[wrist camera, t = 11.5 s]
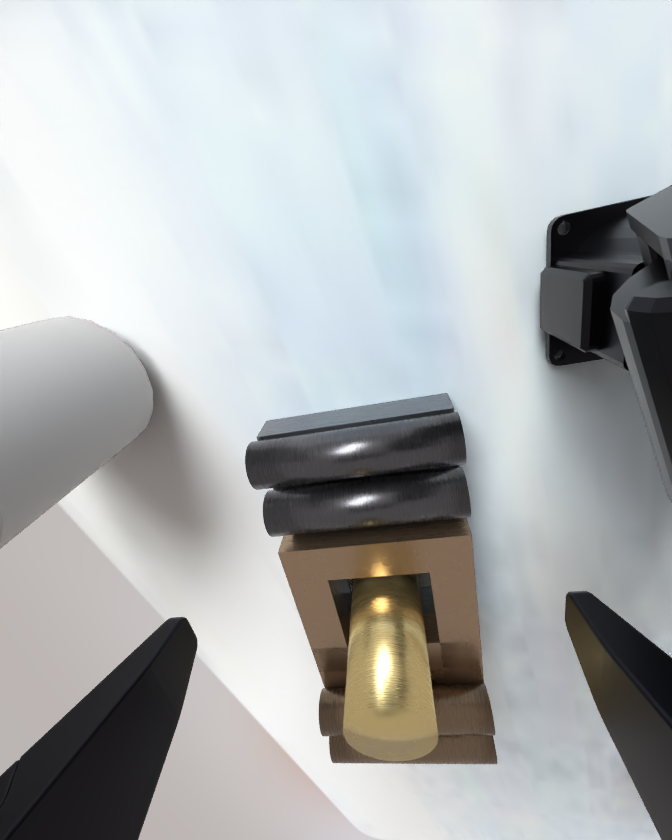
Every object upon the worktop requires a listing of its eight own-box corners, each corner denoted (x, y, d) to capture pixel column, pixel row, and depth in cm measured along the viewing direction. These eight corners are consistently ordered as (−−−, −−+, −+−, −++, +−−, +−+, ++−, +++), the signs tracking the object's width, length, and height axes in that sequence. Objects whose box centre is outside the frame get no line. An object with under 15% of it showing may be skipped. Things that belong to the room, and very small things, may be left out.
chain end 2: (456, 487, 22) (483, 573, 17) (473, 666, 29) (498, 772, 23) (292, 506, 24) (266, 589, 18) (343, 670, 31) (335, 770, 25)
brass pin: (411, 532, 24) (433, 706, 15) (419, 579, 26) (442, 761, 17) (349, 538, 25) (334, 707, 16) (360, 583, 26) (352, 761, 17)
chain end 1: (446, 389, 20) (463, 426, 16) (468, 608, 26) (484, 673, 22) (265, 417, 22) (240, 457, 18) (326, 616, 28) (318, 678, 24)
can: (149, 316, 20) (-123, 404, 9) (171, 443, 23) (-10, 621, 12) (14, 310, 20) (-392, 386, 10) (54, 435, 24) (-218, 597, 13)
